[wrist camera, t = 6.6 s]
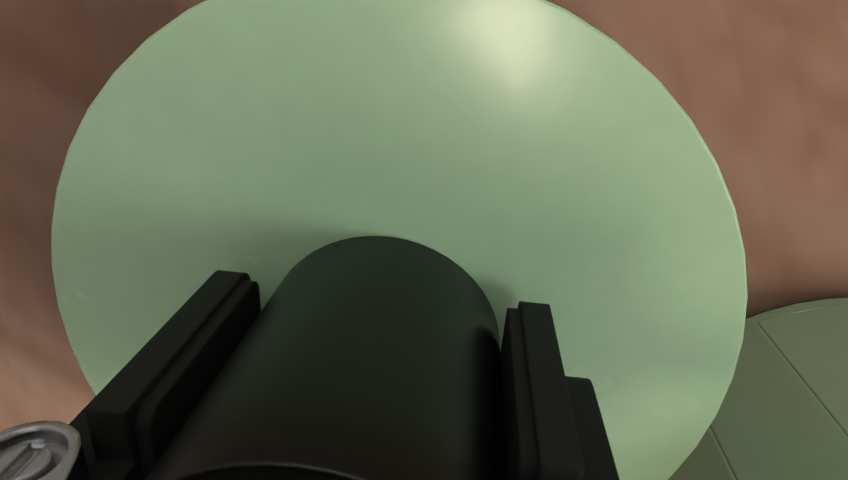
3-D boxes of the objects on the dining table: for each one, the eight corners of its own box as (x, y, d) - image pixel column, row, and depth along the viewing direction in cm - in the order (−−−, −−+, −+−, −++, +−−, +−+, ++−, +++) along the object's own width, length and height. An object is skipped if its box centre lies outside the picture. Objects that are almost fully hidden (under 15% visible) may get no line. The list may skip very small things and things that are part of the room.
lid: (133, 500, 15) (-90, 827, 9) (21, -63, 10) (-699, -150, 4) (640, 566, 15) (753, 969, 9) (827, -8, 9) (1513, -7, 3)
